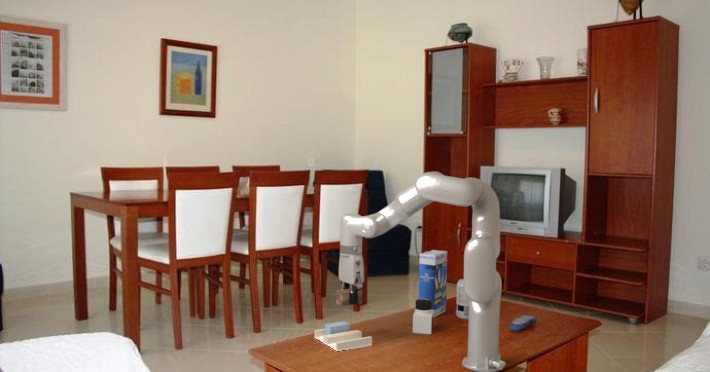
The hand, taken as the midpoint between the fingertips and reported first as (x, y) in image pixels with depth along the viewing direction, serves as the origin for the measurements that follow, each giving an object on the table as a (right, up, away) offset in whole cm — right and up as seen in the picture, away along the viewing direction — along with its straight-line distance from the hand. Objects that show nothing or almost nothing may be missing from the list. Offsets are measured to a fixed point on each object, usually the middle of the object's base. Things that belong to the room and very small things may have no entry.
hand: (349, 302), depth 205 cm
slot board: (-3, -15, +5) cm, 16 cm away
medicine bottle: (+27, -15, +19) cm, 36 cm away
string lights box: (+34, -14, +44) cm, 57 cm away
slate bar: (-5, -14, +8) cm, 17 cm away
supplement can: (+47, -14, +40) cm, 63 cm away
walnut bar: (0, 0, 0) cm, 0 cm away
